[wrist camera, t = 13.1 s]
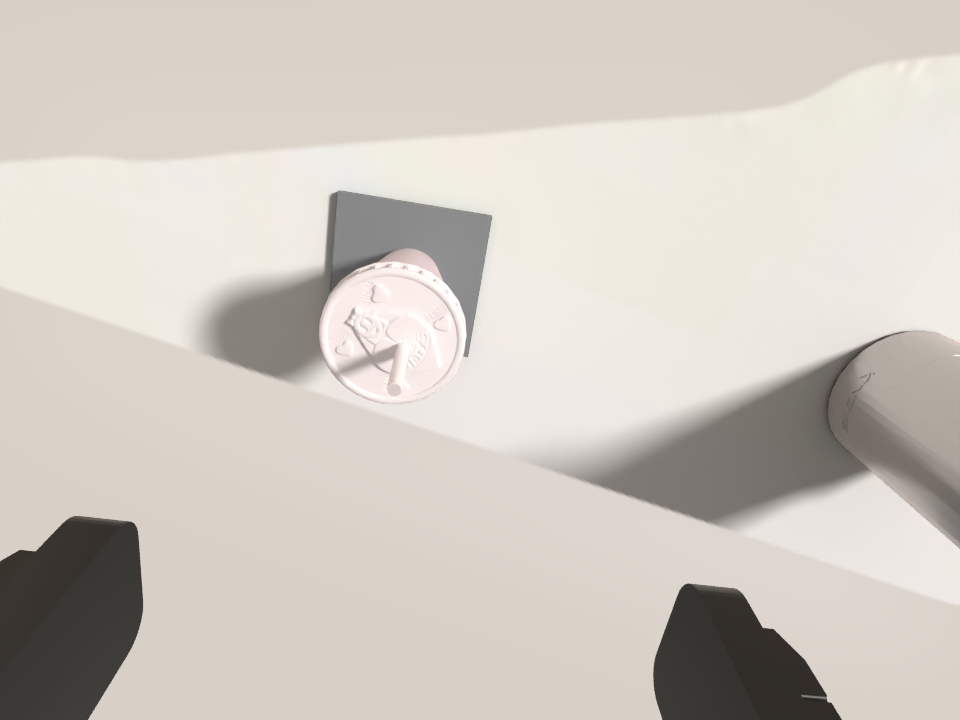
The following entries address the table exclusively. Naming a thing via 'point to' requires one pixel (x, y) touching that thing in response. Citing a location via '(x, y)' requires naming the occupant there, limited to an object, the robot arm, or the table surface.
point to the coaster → (413, 242)
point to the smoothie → (393, 329)
